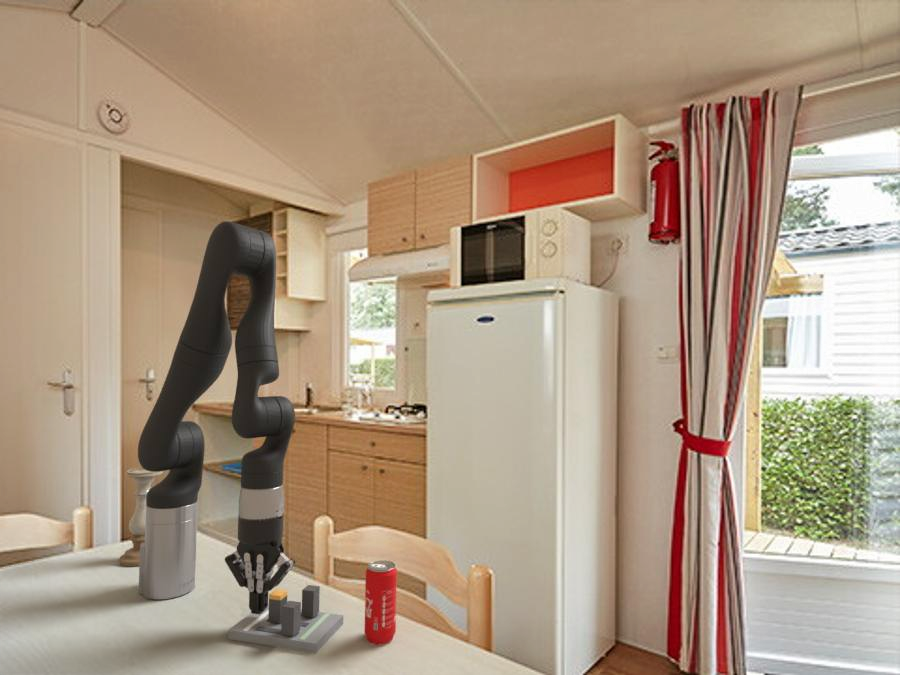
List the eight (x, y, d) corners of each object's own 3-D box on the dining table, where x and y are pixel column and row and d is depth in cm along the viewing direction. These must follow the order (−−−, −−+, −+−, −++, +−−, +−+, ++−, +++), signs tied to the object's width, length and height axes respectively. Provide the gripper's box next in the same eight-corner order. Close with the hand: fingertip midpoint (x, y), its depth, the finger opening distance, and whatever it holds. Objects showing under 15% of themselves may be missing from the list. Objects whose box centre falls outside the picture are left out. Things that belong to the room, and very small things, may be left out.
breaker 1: (268, 621, 94) (269, 594, 94) (275, 615, 96) (276, 589, 96) (279, 623, 93) (280, 596, 93) (286, 617, 95) (287, 590, 95)
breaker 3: (301, 616, 96) (302, 589, 96) (307, 610, 98) (308, 584, 98) (313, 617, 95) (313, 591, 95) (319, 612, 97) (319, 586, 98)
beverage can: (390, 647, 89) (391, 572, 90) (359, 644, 90) (361, 569, 91) (399, 632, 94) (400, 561, 95) (370, 628, 95) (372, 558, 96)
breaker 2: (281, 634, 89) (281, 606, 90) (288, 628, 91) (288, 600, 92) (293, 636, 89) (294, 608, 89) (300, 629, 91) (300, 602, 91)
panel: (228, 639, 91) (228, 629, 91) (262, 612, 101) (262, 603, 101) (316, 653, 87) (316, 642, 87) (343, 623, 97) (343, 614, 97)
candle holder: (171, 555, 128) (174, 467, 129) (140, 569, 120) (143, 475, 121) (142, 550, 131) (145, 465, 132) (109, 563, 123) (113, 472, 123)
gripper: (214, 513, 94) (211, 616, 93) (283, 520, 91) (280, 627, 90) (241, 502, 101) (238, 598, 101) (306, 508, 98) (303, 607, 97)
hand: (258, 611), depth 95 cm, fingers closed
